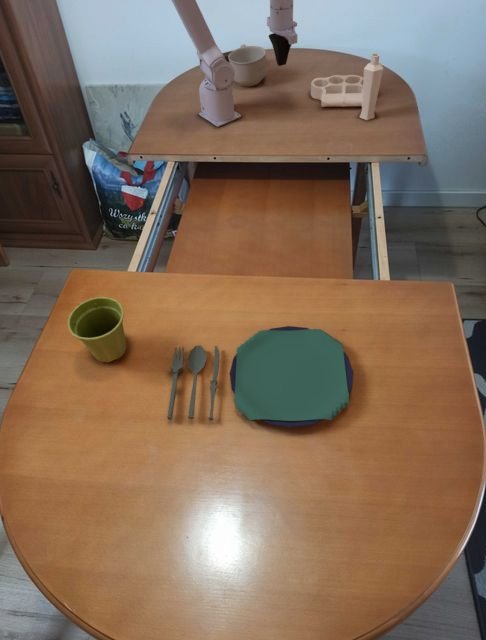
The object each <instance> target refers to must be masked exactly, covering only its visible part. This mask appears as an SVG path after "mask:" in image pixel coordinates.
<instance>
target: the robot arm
mask: <svg viewBox="0 0 486 640" xmlns="http://www.w3.org/2000/svg"><path fill="white" fill-rule="evenodd" d="M171 2H172V4H173V7H174V8H175V10H176V12H177V14H178V17H179V19H180V20H181V23H182V24H183V26H184V28H185V30H186V32H187V35H188V36H189V38H190V40H191V42H192V44H193V46H194V48H195V50H196V55H197V58H198V62H199V69H200V72H201V73H202V74H203V75H204V79H203V80H202V81H201V82H200V85H199V90H198V93H199V102H200V110H201V112H200V111H199V113H198V115H199V116H200V117H202V118H203V119H204V120H206V121H208V122H209V123H211V124H212V125H214V126H216V128H217V127H218V128H220V127H222V126H224V125H226V124H228V123H230V122H232V121H235V120H237V119H240V118H241V117H242V114H240V113H239V112H237V111H236V110H235V104H234V103H235V102H234V93H233V82H234V77H235V71H234V68H233V66H232V65H231V64H230V63H229V62H227V61H226V60H225V58H224V56H223V54H222V53H223V52H222V51H221V50H220V48H219V46H218V44H217V43H216V41H215V38H214V36H213V34H212V32H211V30H210V28H209V25H208V23H207V22H206V19H205V17H204V15H203V13H202V11H201V9H200V7H199V5H198V2H197V0H171ZM266 27H268V28H269V31H270V32H271V33H270V34H268V39H269V41H270V43H271V46H272V49H273V52H274V57H275V61H276V64H277V66H278V67H282V66H286V65H287V62H288V58H289V53H290V50H291V47H292V45H295V44H297V43H298V34H297V32H296V27H298V23H297V22H296V21H295V20H294V0H269V16H267V17H266Z"/></svg>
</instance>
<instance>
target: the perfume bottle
mask: <svg viewBox="0 0 486 640" xmlns="http://www.w3.org/2000/svg"><path fill="white" fill-rule="evenodd" d="M380 57H381V54H380V53H378V52H373V53H371V55H370V62H368V63H367V64H366V65H365V66H364V68H363V77H364V80H363V98H362V107H361V112H360V114H359V119H362V120H364V121H370V120H372V119H376V118H375V111H376V110H375V109H376V104H377V100H378V95H379V91H380V87H381V82H382V77H383V74H384V68H385V67H384V66H383V65H382V63H380Z"/></svg>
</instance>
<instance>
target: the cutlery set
mask: <svg viewBox="0 0 486 640" xmlns="http://www.w3.org/2000/svg"><path fill="white" fill-rule="evenodd" d="M184 349H185V348H184V346H182V348H181V346H179V347H177V346H175V347H174V353H173V357H172V361H171V365H170V371H171V372H172V374H173V375H172V382H171V383H172V384H171V390H170V397H169V403H168V409H167V415H166V419H167V420H169V421H170V420H171V421H172V420H173V413H174V405H175V400H176V393H177V384H178V376H180V373H181V372H182V371H184V368H183V367H184V366H183V365H184V351H185V350H184ZM186 361H187V367H188V368H189V369H190V371H191V373H193V381H192V386H191V394H190V400H189V406H188V407H189V409H188V415H187V419H189V420H193V419H194V416H195V404H196V390H197V389H196V388H197V378H198V374H199V372H201V371H202V370H203V369H204V368H205V365H206V362H207V351H206V349H205V348H204V347H203V346H202V345H194V347H193V348H192V349H191V350H190V351H189V353H188V356H187V360H186ZM219 366H220V349H219V347H218V346H217V345H215V346H214V355H213V367H212V379H211V380H209V383H210V386H209V388H210V409H209V417H208V421H214V403H215V395H216V392H217V385H218V384H219V383H218V380H217V378H218V374H219V368H220V367H219ZM353 379H354V371H353V368H352V364H351V361H350V359H349V356H348V354H347V353H346V352H345V351H344V345H343V343H342V342H340V340H337V339H336V338H335V337H334V336H332V335H331V334H329V333H328V332H326V331H324V330H323V329H320V328H308V327H303V326H302V327H301V326H292V325H291V326H290V325H285V326H279V327H271V328H269V329H261V330H258V331H257V332H256V333H254V334H253V335H252V336H250V337H249V338H248V339H247V340H245V341H244V342H243V343H241V344H240V345H239V346H237V348H236V354H235V355H234V356H233V358H232V362H231V366H230V370H229V380H230V386H231V391H232V393H233V394H234V405H235V408H236V409H237V411H239V412H240V413H241V414H243V415H244V417H246V418H247V419H248V420H249V421H255V420H256V421H257V420H260V421H261V422H265V423H266V424H268V425H271V426H275V427H283V428H290V429H295V428H296V429H297V428H302V427H309V426H314V425H316V424H319V423H321V422H322V421H325V420H329V421H332V420H334V419H335V418H336V416H338V415H339V414H340V413H341V412H342V411H343V410H344V409H346V408H347V407H348V406H349V401H350V394H351V392H352V389H353V381H354V380H353Z"/></svg>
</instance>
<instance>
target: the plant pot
mask: <svg viewBox="0 0 486 640" xmlns="http://www.w3.org/2000/svg"><path fill="white" fill-rule="evenodd" d="M124 316H125V312H124V308H123V306H122V304H121V303H120V302H119V301H118V300H116V299H114V298H112V297H109V296H97V297H93V298H88V299H87V300H84V301H82V302H80V303H79V304H78V305H76V307H75V308H73V310H72V311H71V312H70V314H69V315H68V317H67V328H68V331H69V333H70V334H71V336H73V337H75V339H78V340H80V341H81V342H82V343H83V345H84V346H85V347H86V348H87V349H88V351H89V352H90V353H91V354H92V356H93V357H94V359H96V360H97V361H98V362H102V363H111V362H112V361H115V360H118V359H121V357H123V355H125V353H126V351H127V347H128V345H127V340H126V335H125V329H124V324H123V323H124Z"/></svg>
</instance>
